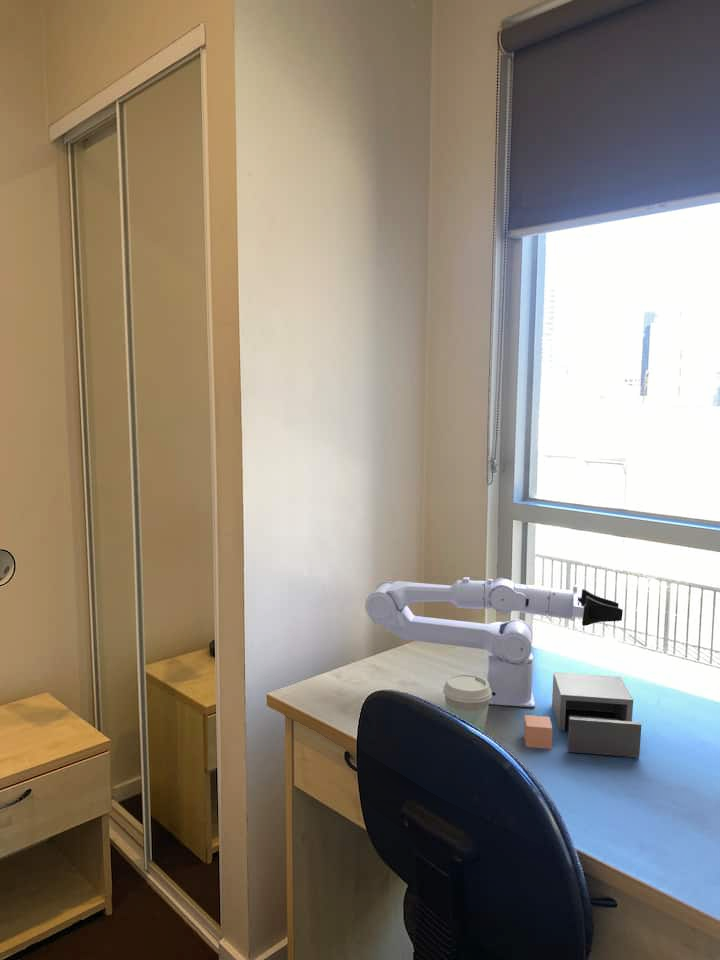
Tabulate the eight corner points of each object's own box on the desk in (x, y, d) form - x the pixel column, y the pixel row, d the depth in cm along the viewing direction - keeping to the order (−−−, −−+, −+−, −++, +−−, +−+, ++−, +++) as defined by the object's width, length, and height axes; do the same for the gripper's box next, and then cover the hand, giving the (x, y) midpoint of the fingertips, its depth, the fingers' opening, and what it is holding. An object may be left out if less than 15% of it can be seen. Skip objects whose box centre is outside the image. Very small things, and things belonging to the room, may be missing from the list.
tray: (568, 751, 127) (570, 719, 126) (560, 723, 138) (561, 693, 137) (639, 757, 125) (641, 724, 124) (625, 728, 136) (627, 698, 135)
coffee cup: (478, 763, 123) (480, 696, 121) (433, 749, 127) (435, 684, 126) (496, 743, 130) (499, 679, 129) (453, 730, 135) (455, 669, 133)
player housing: (559, 730, 135) (560, 694, 134) (551, 705, 146) (553, 672, 145) (630, 736, 133) (633, 699, 132) (618, 710, 144) (620, 676, 143)
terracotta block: (525, 747, 129) (526, 726, 128) (523, 735, 133) (524, 715, 133) (551, 749, 128) (552, 728, 128) (548, 737, 133) (549, 716, 132)
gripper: (551, 587, 138) (626, 597, 134) (550, 577, 152) (618, 586, 148) (547, 623, 138) (622, 634, 134) (547, 610, 152) (614, 620, 149)
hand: (620, 611), depth 141 cm, fingers open, 7 cm apart
